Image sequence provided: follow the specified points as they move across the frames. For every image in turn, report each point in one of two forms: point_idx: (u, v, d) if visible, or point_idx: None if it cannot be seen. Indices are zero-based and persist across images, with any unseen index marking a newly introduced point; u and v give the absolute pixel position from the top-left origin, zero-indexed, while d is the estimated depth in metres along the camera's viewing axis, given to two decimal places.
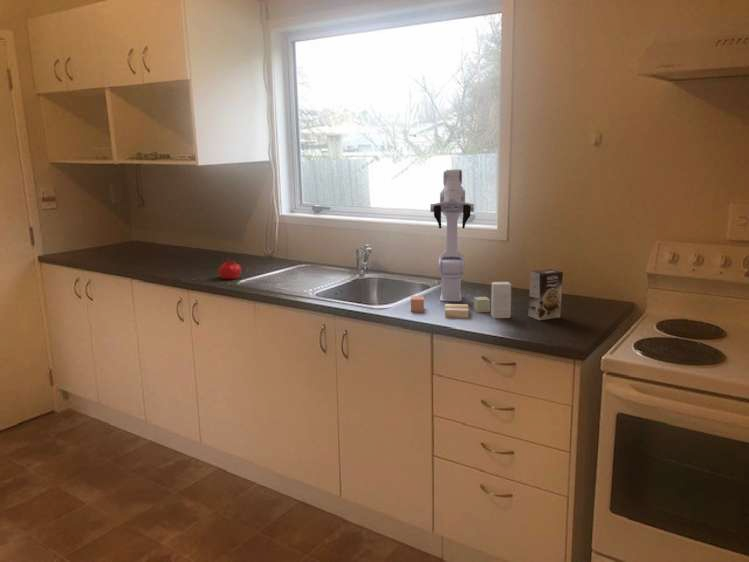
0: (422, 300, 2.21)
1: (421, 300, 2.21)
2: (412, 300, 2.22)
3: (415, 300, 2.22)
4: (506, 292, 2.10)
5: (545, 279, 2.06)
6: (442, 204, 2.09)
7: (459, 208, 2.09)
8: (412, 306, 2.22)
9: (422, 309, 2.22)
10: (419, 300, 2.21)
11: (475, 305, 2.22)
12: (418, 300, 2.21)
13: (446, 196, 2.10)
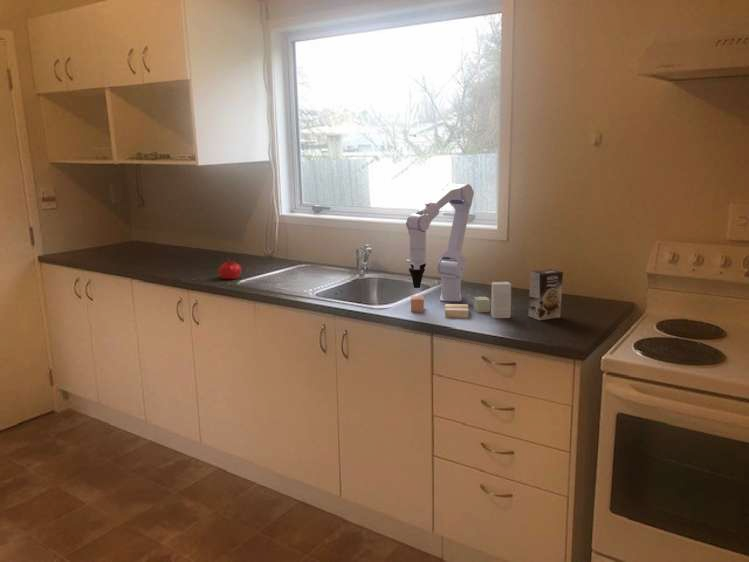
0: (422, 300, 2.21)
1: (421, 300, 2.21)
2: (412, 300, 2.22)
3: (415, 300, 2.22)
4: (506, 292, 2.10)
5: (545, 279, 2.06)
6: None
7: None
8: (412, 306, 2.22)
9: (422, 309, 2.22)
10: (419, 300, 2.21)
11: (475, 305, 2.22)
12: (418, 300, 2.21)
13: None
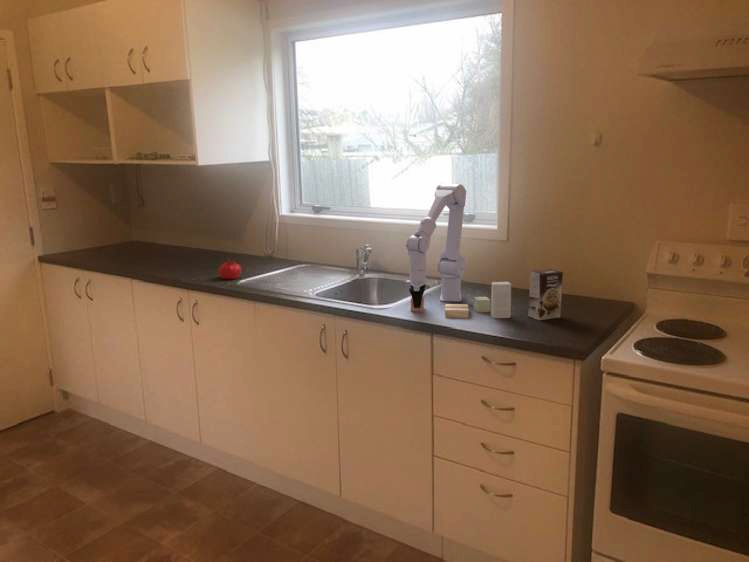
0: (422, 300, 2.21)
1: (421, 300, 2.21)
2: (412, 300, 2.22)
3: None
4: (506, 292, 2.10)
5: (545, 279, 2.06)
6: None
7: None
8: (412, 305, 2.22)
9: (422, 309, 2.22)
10: None
11: (475, 305, 2.22)
12: None
13: None
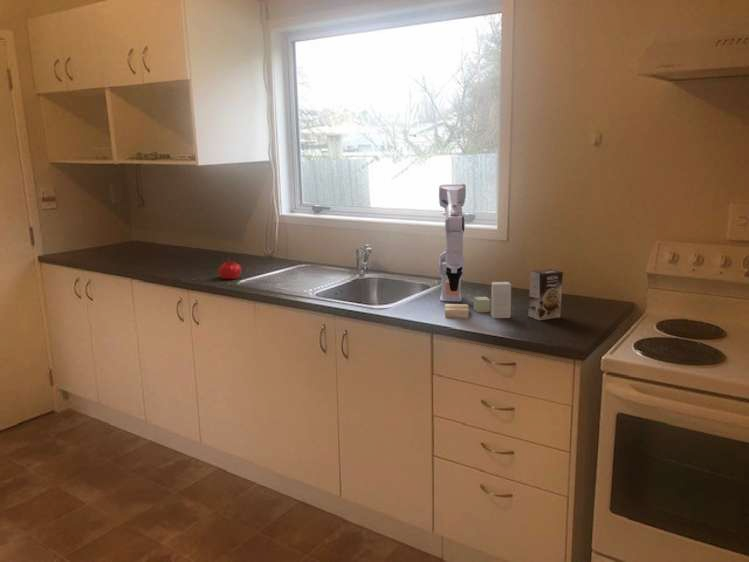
0: (458, 283, 2.14)
1: None
2: (447, 283, 2.14)
3: None
4: (506, 292, 2.10)
5: (545, 279, 2.06)
6: None
7: None
8: (447, 289, 2.15)
9: (457, 293, 2.14)
10: None
11: (475, 305, 2.22)
12: None
13: None
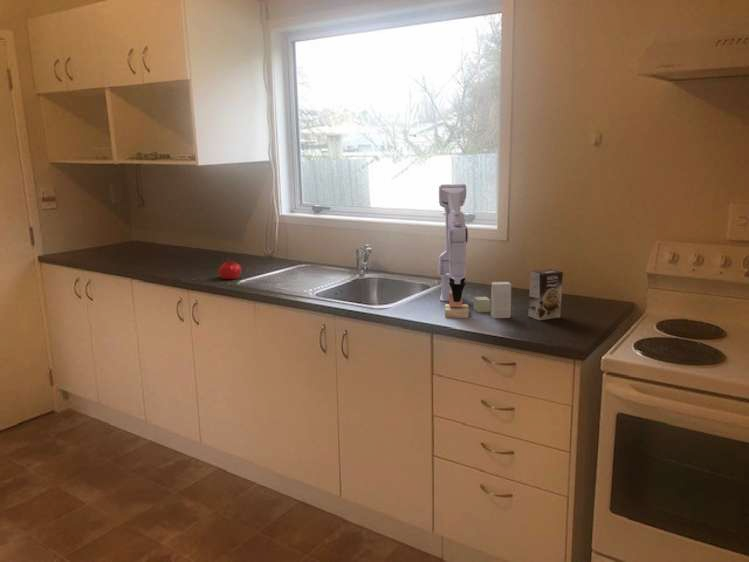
0: None
1: None
2: (450, 294, 2.14)
3: None
4: (506, 292, 2.10)
5: (545, 279, 2.06)
6: None
7: None
8: (450, 300, 2.15)
9: (461, 303, 2.15)
10: None
11: (475, 305, 2.22)
12: None
13: None
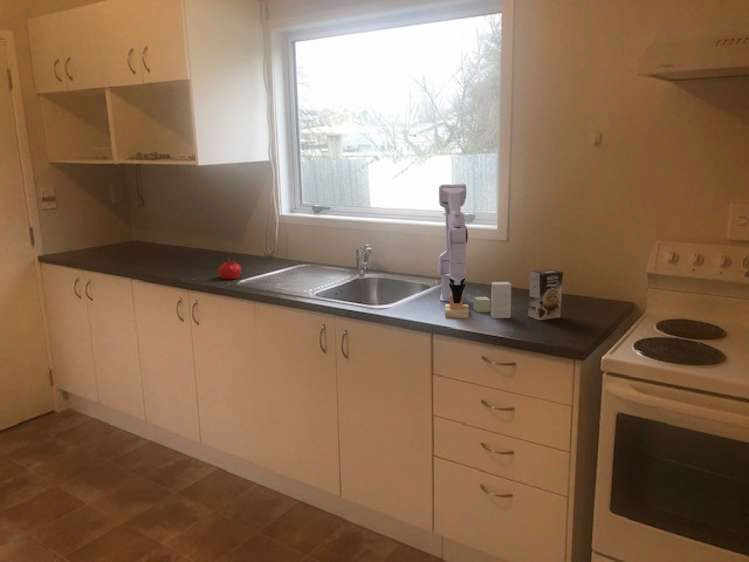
0: (461, 297, 2.14)
1: None
2: (451, 297, 2.15)
3: None
4: (506, 292, 2.10)
5: (545, 279, 2.06)
6: None
7: None
8: (451, 303, 2.15)
9: (461, 306, 2.15)
10: None
11: (475, 305, 2.22)
12: None
13: None
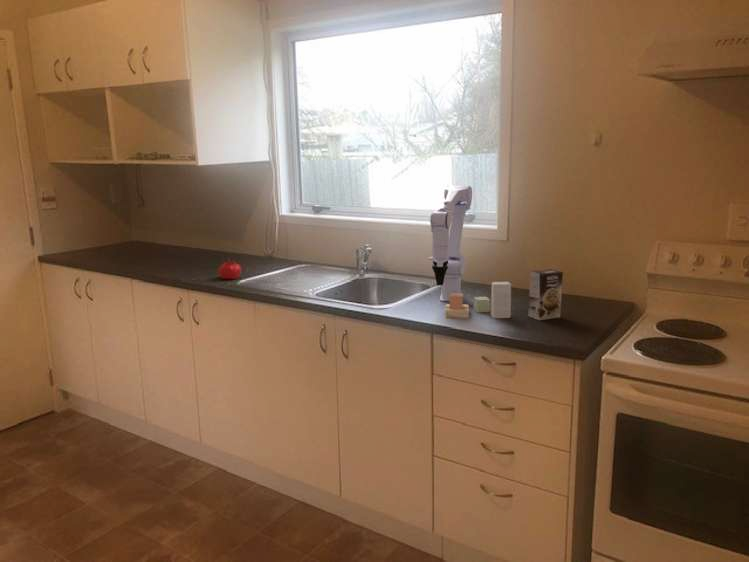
0: (461, 297, 2.14)
1: (460, 297, 2.14)
2: (451, 297, 2.15)
3: (454, 297, 2.14)
4: (506, 292, 2.10)
5: (545, 279, 2.06)
6: None
7: None
8: (451, 303, 2.15)
9: (461, 306, 2.15)
10: (458, 297, 2.14)
11: (475, 305, 2.22)
12: (457, 297, 2.14)
13: None
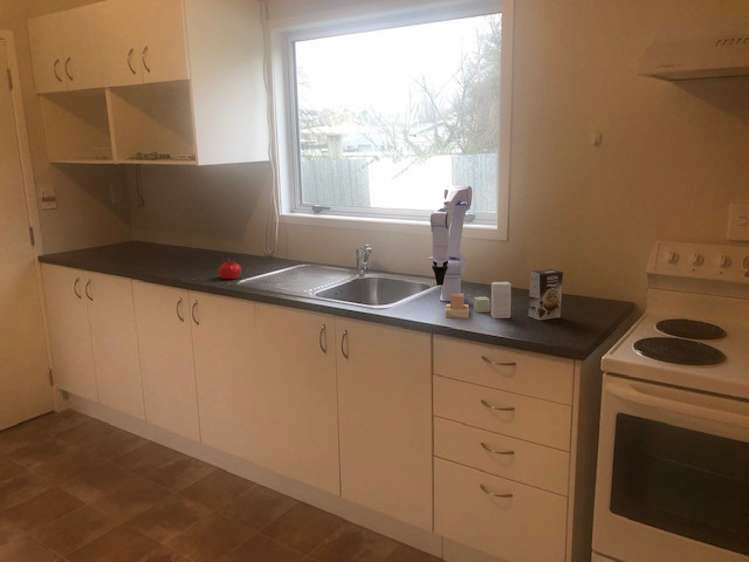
0: (462, 297, 2.14)
1: (461, 297, 2.14)
2: (452, 297, 2.15)
3: (455, 297, 2.14)
4: (506, 292, 2.10)
5: (545, 279, 2.06)
6: None
7: None
8: (452, 303, 2.15)
9: (462, 306, 2.15)
10: (459, 297, 2.14)
11: (475, 305, 2.22)
12: (458, 297, 2.14)
13: None
